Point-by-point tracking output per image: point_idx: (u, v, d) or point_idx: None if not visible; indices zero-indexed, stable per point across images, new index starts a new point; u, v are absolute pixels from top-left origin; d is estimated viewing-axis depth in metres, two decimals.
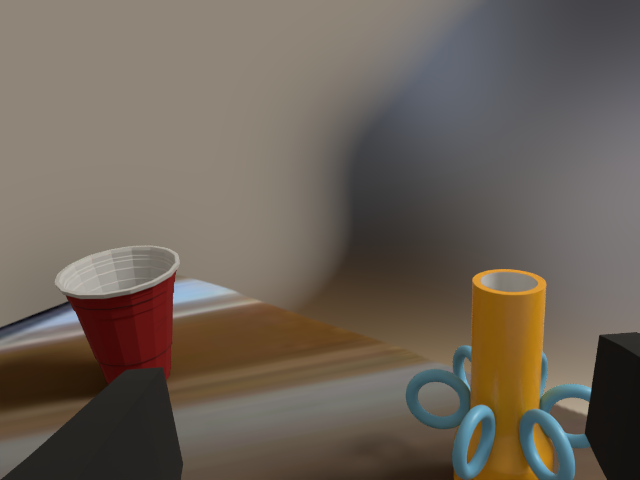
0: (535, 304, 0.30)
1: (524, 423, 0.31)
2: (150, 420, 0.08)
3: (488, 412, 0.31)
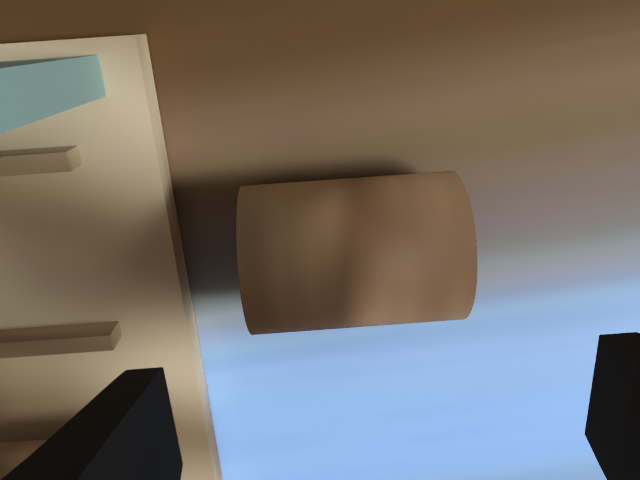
0: None
1: None
2: (150, 420, 0.08)
3: None
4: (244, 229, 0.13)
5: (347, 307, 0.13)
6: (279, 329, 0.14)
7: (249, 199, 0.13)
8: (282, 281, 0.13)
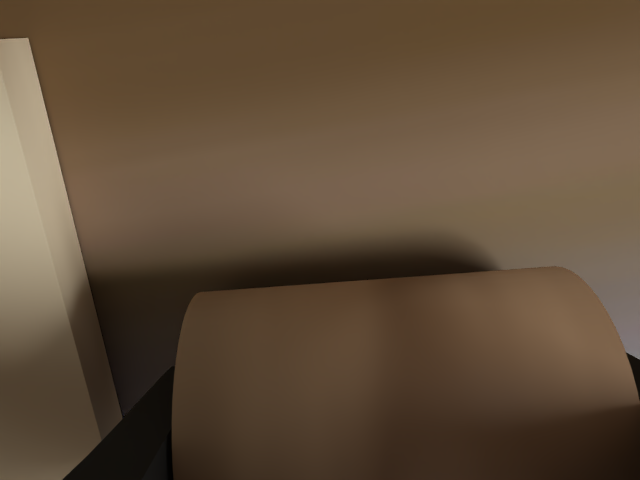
0: None
1: None
2: None
3: None
4: (188, 393, 0.07)
5: None
6: None
7: (203, 327, 0.07)
8: None
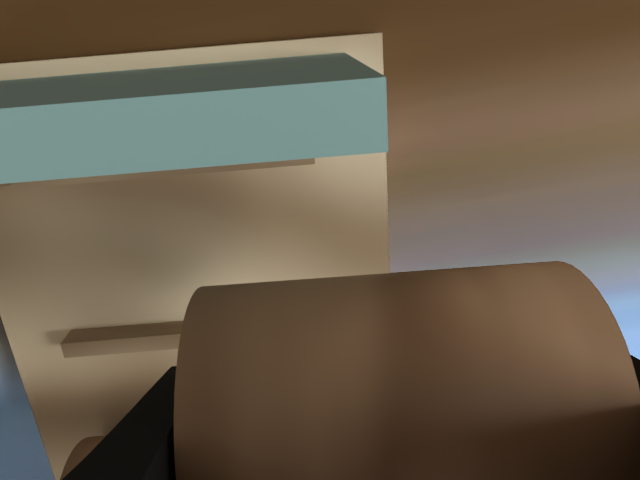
0: None
1: None
2: None
3: None
4: (190, 386, 0.07)
5: None
6: None
7: (205, 320, 0.07)
8: None
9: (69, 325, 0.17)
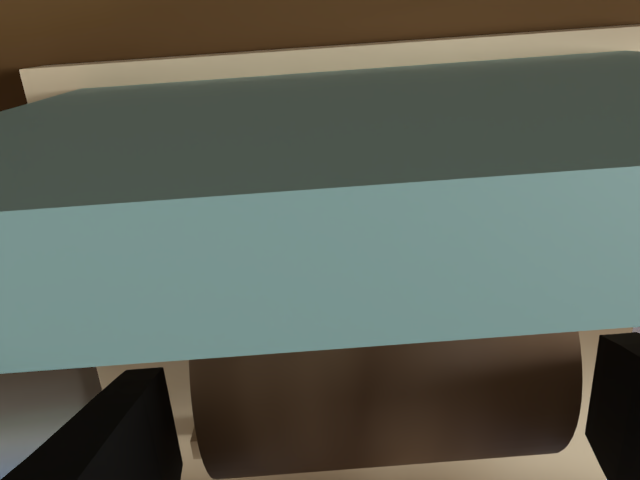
0: None
1: None
2: (150, 420, 0.08)
3: None
4: None
5: (369, 441, 0.08)
6: (259, 474, 0.09)
7: None
8: (262, 400, 0.08)
9: None
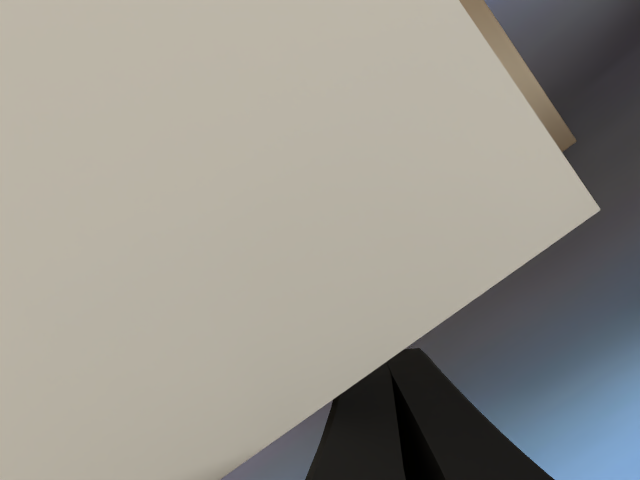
0: None
1: None
2: None
3: None
4: None
5: None
6: None
7: None
8: None
9: None
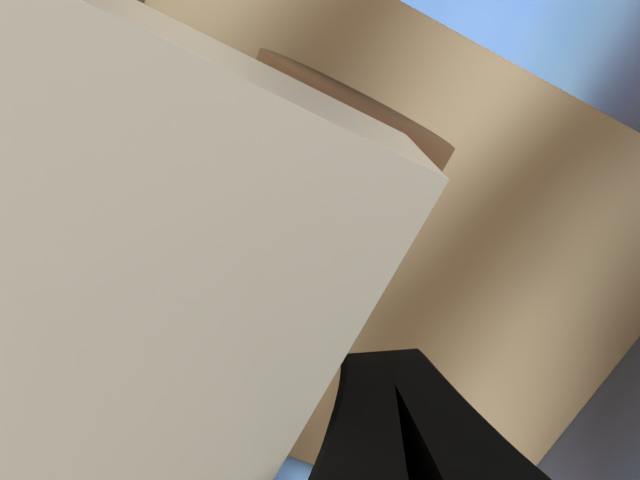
0: None
1: None
2: None
3: None
4: None
5: None
6: None
7: None
8: None
9: None
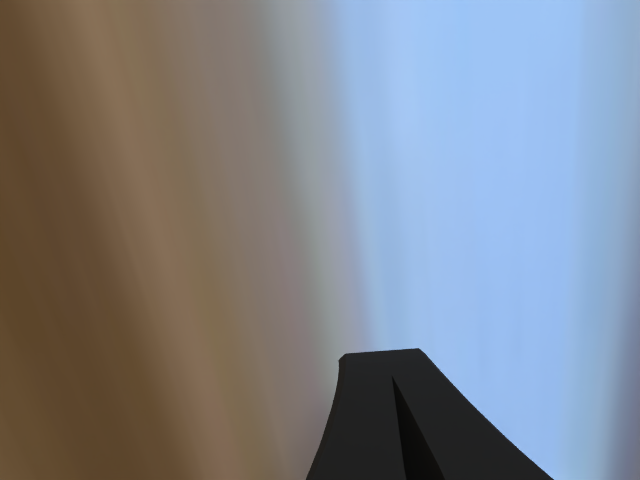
0: None
1: None
2: None
3: None
4: None
5: None
6: None
7: None
8: None
9: None
